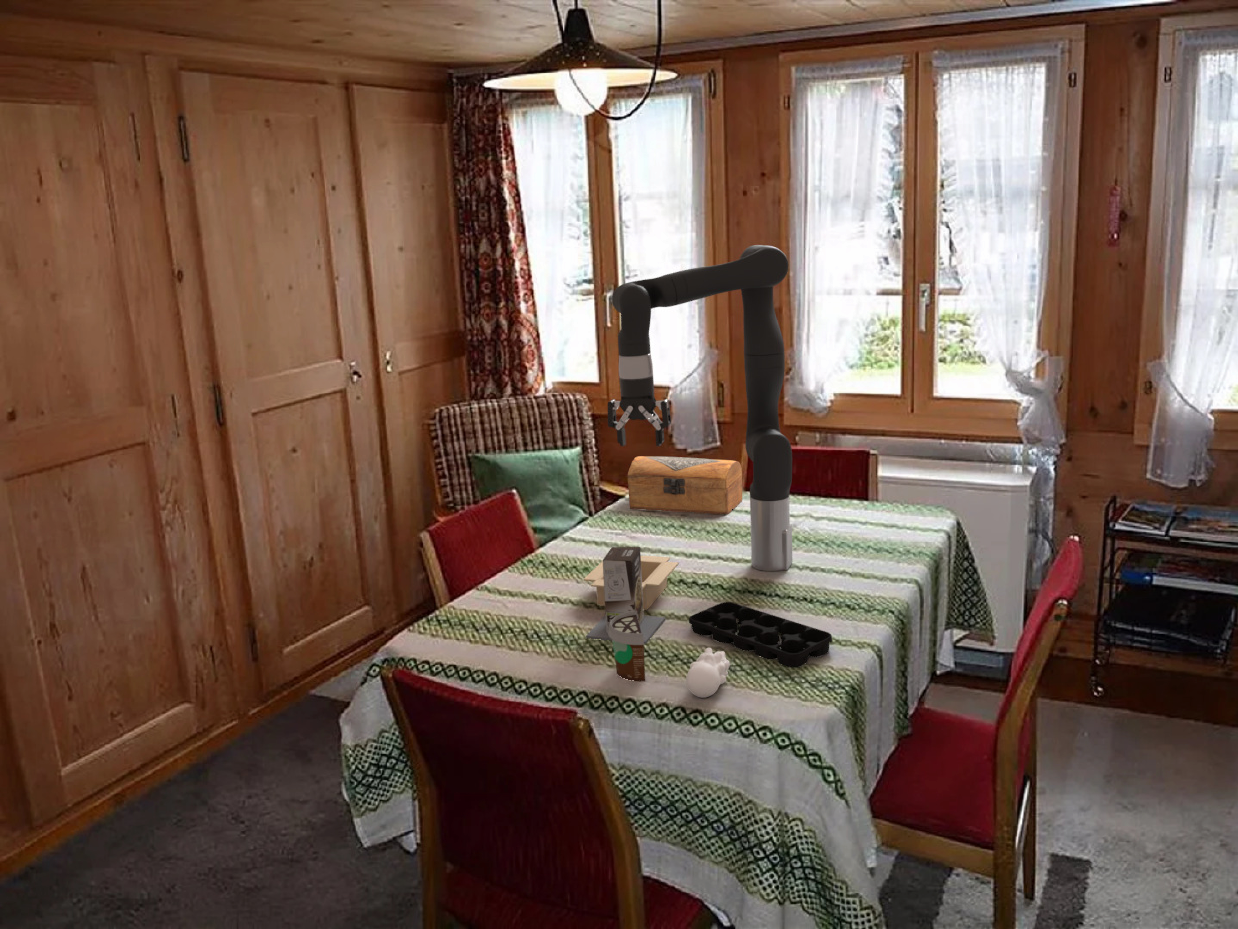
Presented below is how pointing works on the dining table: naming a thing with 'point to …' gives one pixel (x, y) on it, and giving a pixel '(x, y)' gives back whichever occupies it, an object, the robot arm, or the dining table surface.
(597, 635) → the rubber mat
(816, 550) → the dining table surface
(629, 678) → the food container
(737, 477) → the wooden box
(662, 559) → the carton
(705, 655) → the figurine
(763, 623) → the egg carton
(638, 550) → the coffee box
